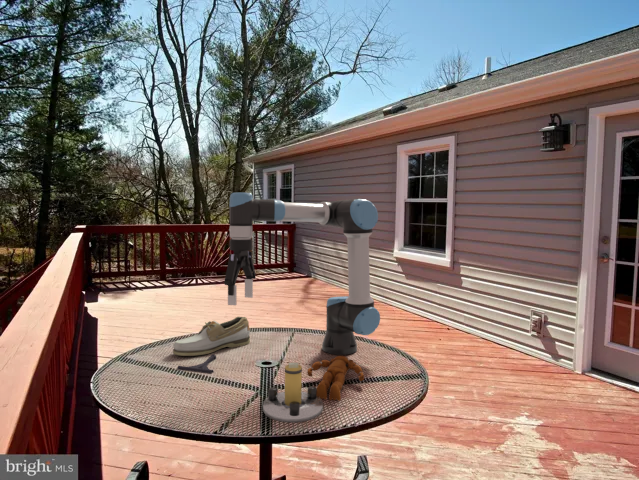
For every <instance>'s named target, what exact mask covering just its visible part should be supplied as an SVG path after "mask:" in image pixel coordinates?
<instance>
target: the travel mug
mask: <svg viewBox="0 0 639 480" xmlns="http://www.w3.org/2000/svg"><path fill="white" fill-rule="evenodd" d="M302 372H303V366H302V365H300V364H299V362H288V364H286V365H285V367H284V392H285V404H286V405H287V406H290V403H291V402H299V403H300V404H301V391H302V390H303V389H302V388H303V386H302V383H303V382H302V378H303V377H302V375H303V374H302ZM300 404H299V405H300Z"/></svg>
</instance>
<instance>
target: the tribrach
mask: <svg viewBox="0 0 639 480" xmlns="http://www.w3.org/2000/svg"><path fill="white" fill-rule="evenodd" d="M267 393H268V395H267V397H266V398H265V399H264V401H263V403H262V411H263V414H265V416H266V417H268V418H269V419H272V420H274V421H277V422H282V423H302V422H306V421H307V422H308V421H311V420H314V419H315V418H317V417H319V416H320V415H321V414H322V413H323V411H324V402H323V399H321V398H320V397H318V396H317V387H316V386H313V385H312V386H308V387H307V391H302V390H301V404H300V403H299V402H291V403H290V406H287V405H286V404H285V391H280V392H278V387H270V388H268V392H267ZM299 404H300V405H299Z"/></svg>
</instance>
